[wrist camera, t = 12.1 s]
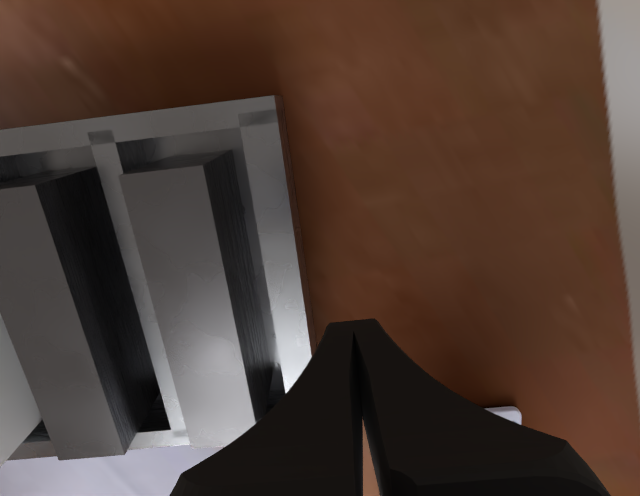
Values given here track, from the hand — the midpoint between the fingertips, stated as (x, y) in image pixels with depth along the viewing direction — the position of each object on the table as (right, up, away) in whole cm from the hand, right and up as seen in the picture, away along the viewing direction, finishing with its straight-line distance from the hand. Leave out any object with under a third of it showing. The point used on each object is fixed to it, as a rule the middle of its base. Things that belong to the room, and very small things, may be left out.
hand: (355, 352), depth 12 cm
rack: (-12, +1, +11) cm, 16 cm away
